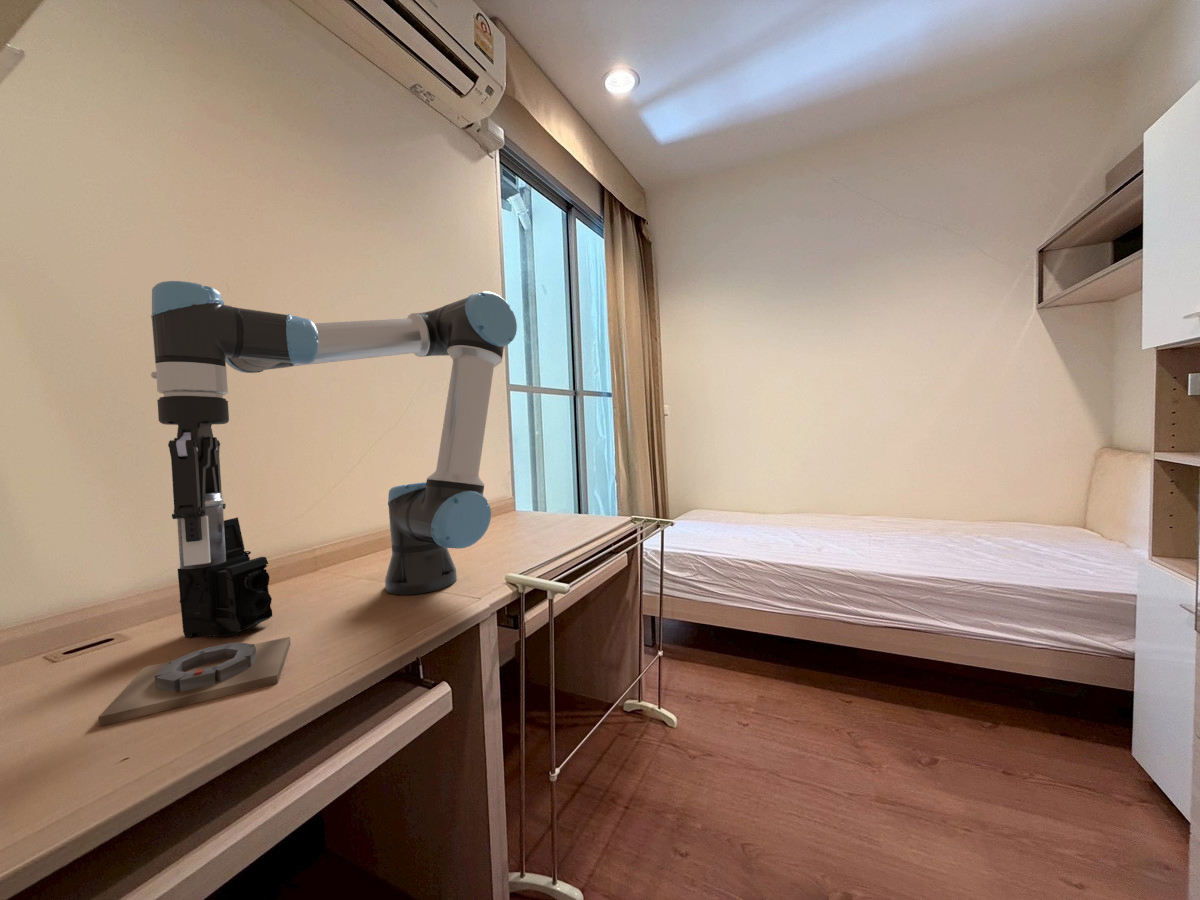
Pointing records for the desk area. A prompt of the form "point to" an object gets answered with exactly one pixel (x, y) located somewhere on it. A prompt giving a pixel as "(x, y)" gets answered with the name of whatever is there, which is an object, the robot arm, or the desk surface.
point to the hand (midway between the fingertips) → (203, 558)
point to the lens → (210, 531)
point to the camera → (225, 591)
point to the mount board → (166, 701)
